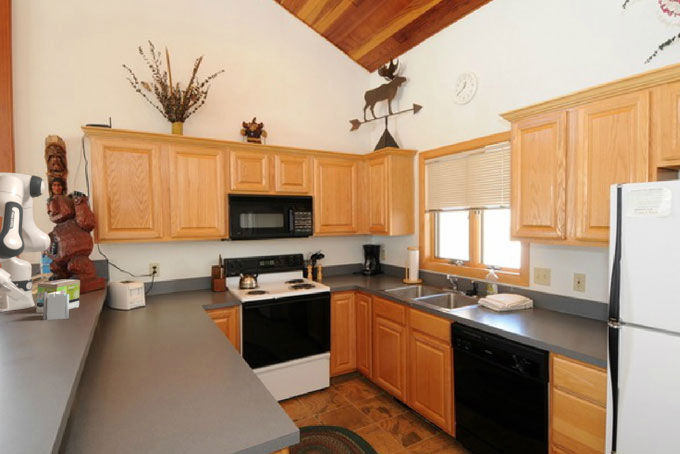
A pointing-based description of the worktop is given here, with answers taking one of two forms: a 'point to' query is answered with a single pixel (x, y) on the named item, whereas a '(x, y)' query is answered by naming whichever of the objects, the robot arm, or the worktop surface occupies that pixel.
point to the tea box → (63, 287)
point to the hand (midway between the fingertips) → (27, 300)
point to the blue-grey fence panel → (58, 306)
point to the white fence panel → (46, 303)
